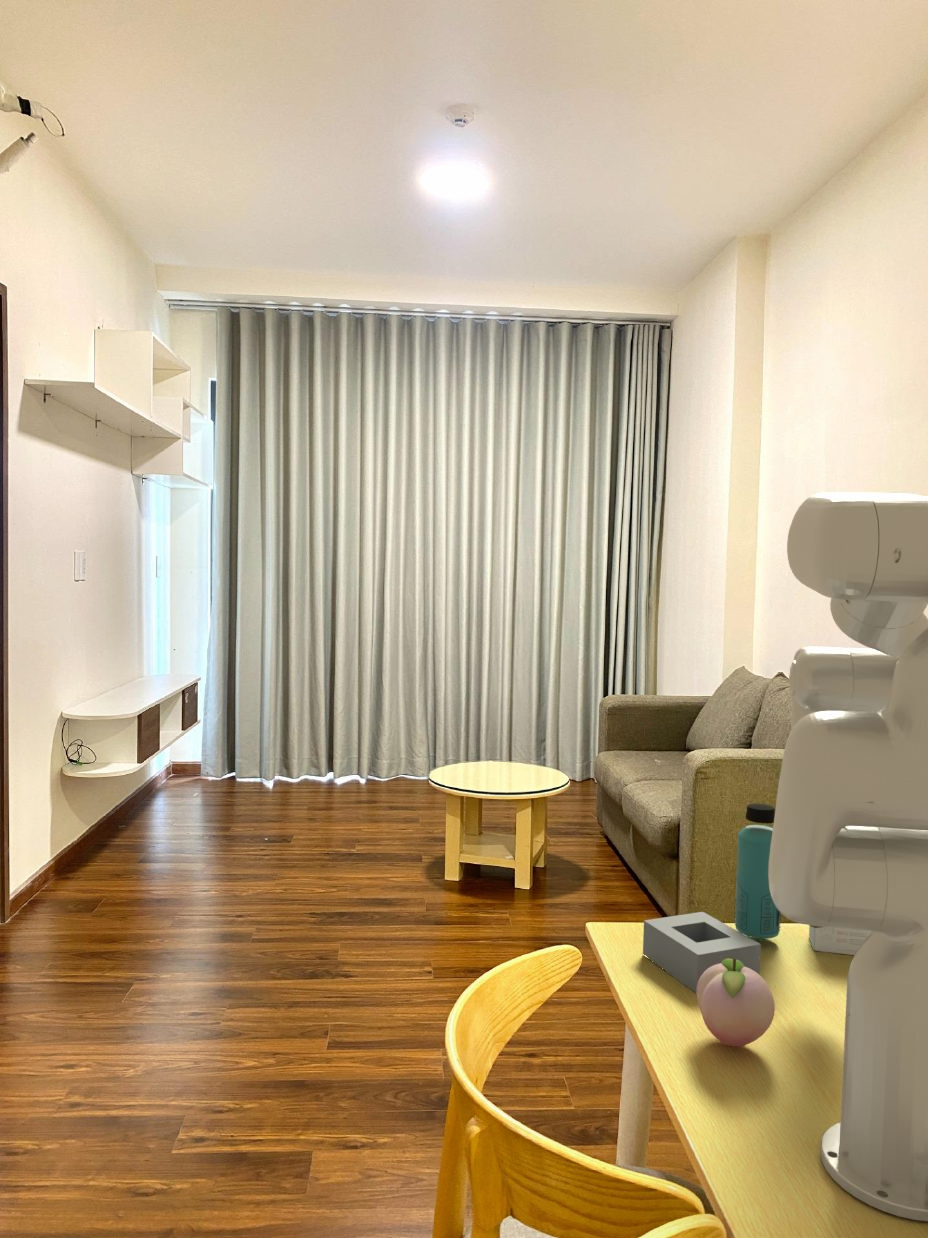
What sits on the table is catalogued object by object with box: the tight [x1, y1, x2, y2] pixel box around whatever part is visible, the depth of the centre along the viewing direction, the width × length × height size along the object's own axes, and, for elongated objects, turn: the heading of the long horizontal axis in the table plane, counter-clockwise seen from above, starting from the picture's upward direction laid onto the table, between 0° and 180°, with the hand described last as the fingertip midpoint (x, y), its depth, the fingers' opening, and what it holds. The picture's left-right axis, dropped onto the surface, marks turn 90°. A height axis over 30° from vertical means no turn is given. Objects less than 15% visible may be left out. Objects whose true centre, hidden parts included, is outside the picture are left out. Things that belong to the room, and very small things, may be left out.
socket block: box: [642, 911, 761, 994], centre depth 122 cm, size 12×10×5 cm
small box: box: [808, 925, 872, 956], centre depth 130 cm, size 8×6×10 cm
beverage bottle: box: [733, 803, 782, 940], centre depth 132 cm, size 6×7×20 cm
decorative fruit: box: [696, 958, 776, 1047], centre depth 102 cm, size 9×8×10 cm
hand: (816, 890), depth 113 cm, fingers closed on walnut peg, 4 cm apart
